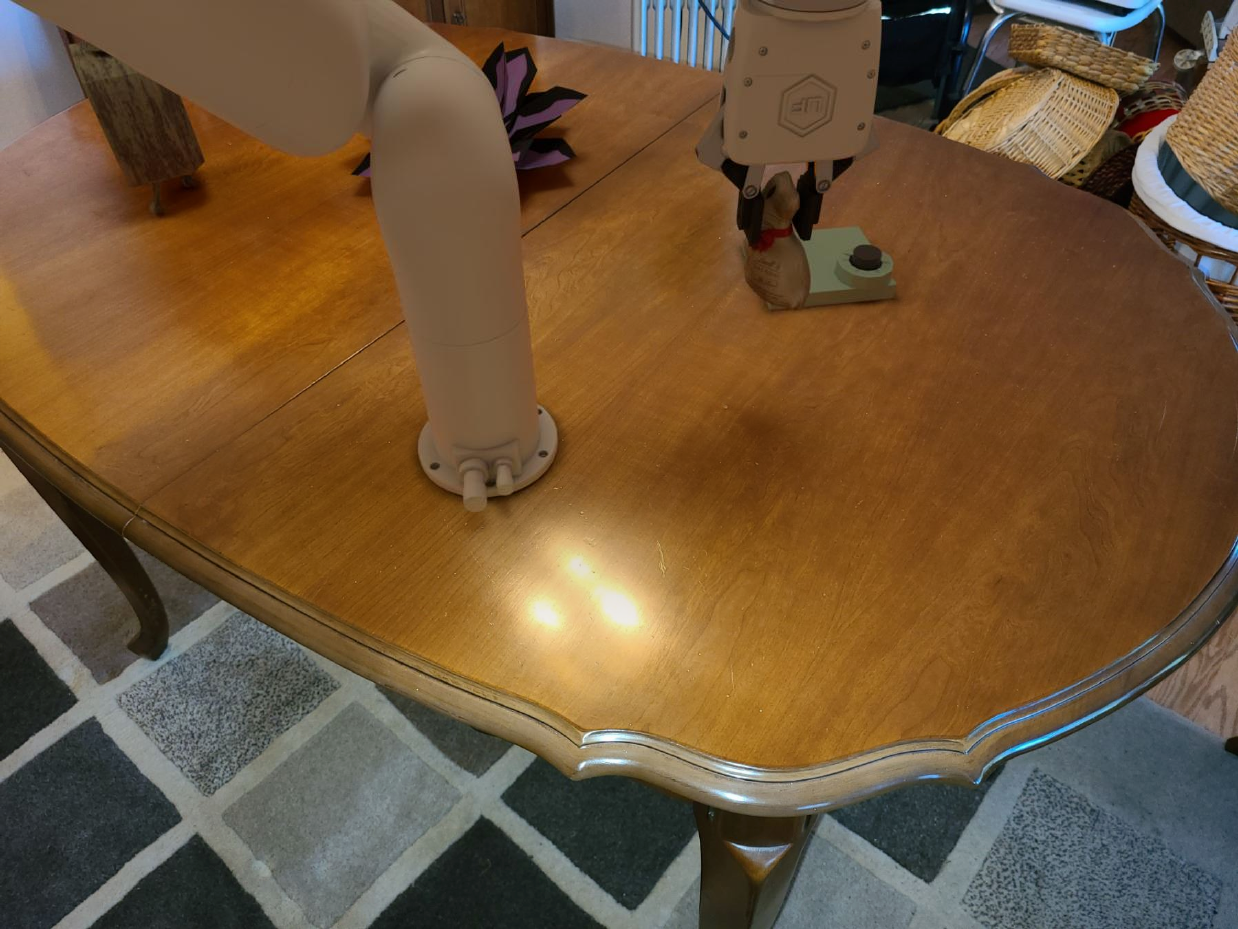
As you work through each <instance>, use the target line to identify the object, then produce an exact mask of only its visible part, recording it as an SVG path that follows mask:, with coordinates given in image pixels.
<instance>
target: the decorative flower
mask: <svg viewBox="0 0 1238 929" xmlns="http://www.w3.org/2000/svg"><path fill="white" fill-rule="evenodd" d="M481 70H482V72H483V73H484V74H485V76H486V77H487V78H488V80H489V82H490V83H491V85H492V87H493V89H494V91H495V94H496V96H497V99H498V102H499V106H500V109H501V114H502V118H503V123H504V126H505V129H506V131H507V135H508V139H509V144H510V148H511V152H512V156H513V160H514V165H515V170H516V172H519V171H522V172H523V171H524V172H526V171H535V170H539V169H542V168H546V167H551V166H554V165H557V164H560V163H563V162H565V161H568V160H571V159H573V158H577V155H576V153H575V151H574V150H573V149H572V148H573V147H571V146H570V144H569V143H568V142H567V141H566V140H565V139H564V138H563V137H534V136H536V135H537V134H539V133H540V132H542V131H543V130H545V129H546V128H548V127H549V126H551V125H552V124H553V123H554V122H556V121H558V120H559V119H560V118H562V116H563V114H564V113H566V112H568V111H570V110H571V109H573V107H575V106H576V105H578V104H579V103H581V102H582V101H583V100H584V99H586V98H587V97H589V94H586V93H583V92H580V91H578V90H575V89H572V88H568V87H565V86H564V87H563V86H559V85H555V86H553V87H551V88H549V89H547V90H545V91H535V92H529V90H530V88H531V86H532V83H533V82H534V79H535V77H536V76H537V72H538V67H537V65H536V64H535V61H534V59H533V57H532V54H531V52H530V50H529V47H528V46H523V47H521V48H516V49H511V50H509V51H506V50H505V44H504V40H502V41H501V42H500V43H499V44H498V45H497V46H496V47H495V48H494V49H493V51H492V52H491V53H490V55H489V56H488V57H487V58H486V60H485V62H484V64H483V66H482V68H481ZM349 175H350V176H358V177H366V178H371V172H370V151H369V152H368V153H367V154H366V155H365V156H364V158H363V159H362V161H361V162H360V163H359V165H358V166H356V167H355V169H353V171H352V172H351V173H350V174H349Z"/></svg>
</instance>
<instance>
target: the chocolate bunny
mask: <svg viewBox="0 0 1238 929" xmlns="http://www.w3.org/2000/svg"><path fill="white" fill-rule="evenodd" d="M761 193H762V195H763V197H764V211H763V218H762V226H761V234H760V241H759V243H757V245H749V242H748V240H747V238H745V241H744V250H745V253H746V256H747V260H746V259H745V262H744V265H743V270H744V279H745V283H747V285H748V287H749V288H750V289H752V292H754V293H755V294H756V295H757V296H759V298H760V299H762V300H763V301H764V302H766V301H767V302H769V303H770V304H772V305H775V306H779V307H785V308H788V309H789V310H796V311H802V310H803V309H804V308H805V307H804V305H805V303H806V299H807V297H808V296H809V292H810V285H811V275H810V269H809V263H808V259H807V256H806V252H805V249H804V247H803V245H802V243H801V241H800V240H799V239H798V238H797V236H796V234H795V233H794V232H795V229H794V226H793V224H792V218H793V216H794V215H795V213H796V212H797V211H798V209H799V206H800V199H799V193H798V192H797V190H796V186H795V183H794V181H793V177H792V174H791V173H790V172H789V170H783V171H780V172H777V173H775V174H774V175H773V176H772V177H771V178H770V179H769V180H767V182H766V184H765V185H763V186H762V185H761Z"/></svg>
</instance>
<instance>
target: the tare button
mask: <svg viewBox="0 0 1238 929" xmlns="http://www.w3.org/2000/svg"><path fill="white" fill-rule="evenodd" d="M881 251H882V250H881V249H880V248H879V247H877V246H875V245H872V244H871V245H867V244H864V245H859V246H857V247H855V248H854V251H853V255H852V260H851V264H852V266H854V267H855V268H857V269H860V270H864V271H873V270H877V269H878V267H879V264H880V261H881V257H882V252H883V251H882V252H881Z"/></svg>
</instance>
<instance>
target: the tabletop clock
mask: <svg viewBox="0 0 1238 929" xmlns="http://www.w3.org/2000/svg"><path fill="white" fill-rule="evenodd" d="M68 48H69V51H70V55H71V58H72V60H73V64H74V67H75V70H76V73H77V76H78V77H79V80H80V83H81V85H82V87H83V89H84V92H85V94H86V97H87V98H88V101H89V103H90V105H91V108H92V109H93V112H94V114H95V116H96V118H97V121H98V123H99V124H100V127H101V130H102V132H103V133H104V136H105V138H106V140H107V142H108V144H109V145H108V146H110V149H111V151H112V154H113V155H114V158H115V159H116V162H117V163H118V166H119V168H120V170H121V172H122V174H123V177H124V178H125V181H126V183H127V185H128V187H129V188H130V189H133V188H135V187H136V188H137V187H141V186H145V185H149V184H151V185H152V193H153V200H154V201H152V202H151V203H150V204H149V211H150V212H151V213H152V214H153V215H155V216H161V215H163V213H164V212H165V206H164V205H163V203H162V202H160V199H161V198H160V197H161V187H162V185H163V183H164V181H166V180H171V179H175V178H180V177H181V184H182V185H183V186H184V187H186V188H194V186H195V185H196V178H195V177H194V176H193V175H192V174H194V173H195V172H196V171H197V170H198V169H199V168H200V167H201V166H202V165H204V163H206V159H205V158H204V155H203V151H202V149H201V147H200V144H199V141H198V138H197V136H196V133H195V130H194V128H193V125H192V123H191V120H190V118H189V115H188V112H187V109H186V107H185V104H184V102H183V99H182V97H181V96H180V95H178V94H176V93H174V92H173V91H171V90H169V89H167V88H165V87H164V86H162V85H160V84H158V83H157V82H155V81H153V80H151V79H150V78H148V77H146V76H144V75H142V74H141V73H139V72H138V71H136V70H134V69H133V68H131V67H130V66H128V65H126V64H125V63H123V62H122V61H120V60H118V59H117V58H115V57H113V56H112V55H110V54H108V53H106V52H105V51H103V50H101V49H99V48H97V47H96V46H94V45H92V44H90V43H89V42H87V41H85V40H83V39H82V41H81V42H76V43H75V42H74V43H70V44H68Z"/></svg>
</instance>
